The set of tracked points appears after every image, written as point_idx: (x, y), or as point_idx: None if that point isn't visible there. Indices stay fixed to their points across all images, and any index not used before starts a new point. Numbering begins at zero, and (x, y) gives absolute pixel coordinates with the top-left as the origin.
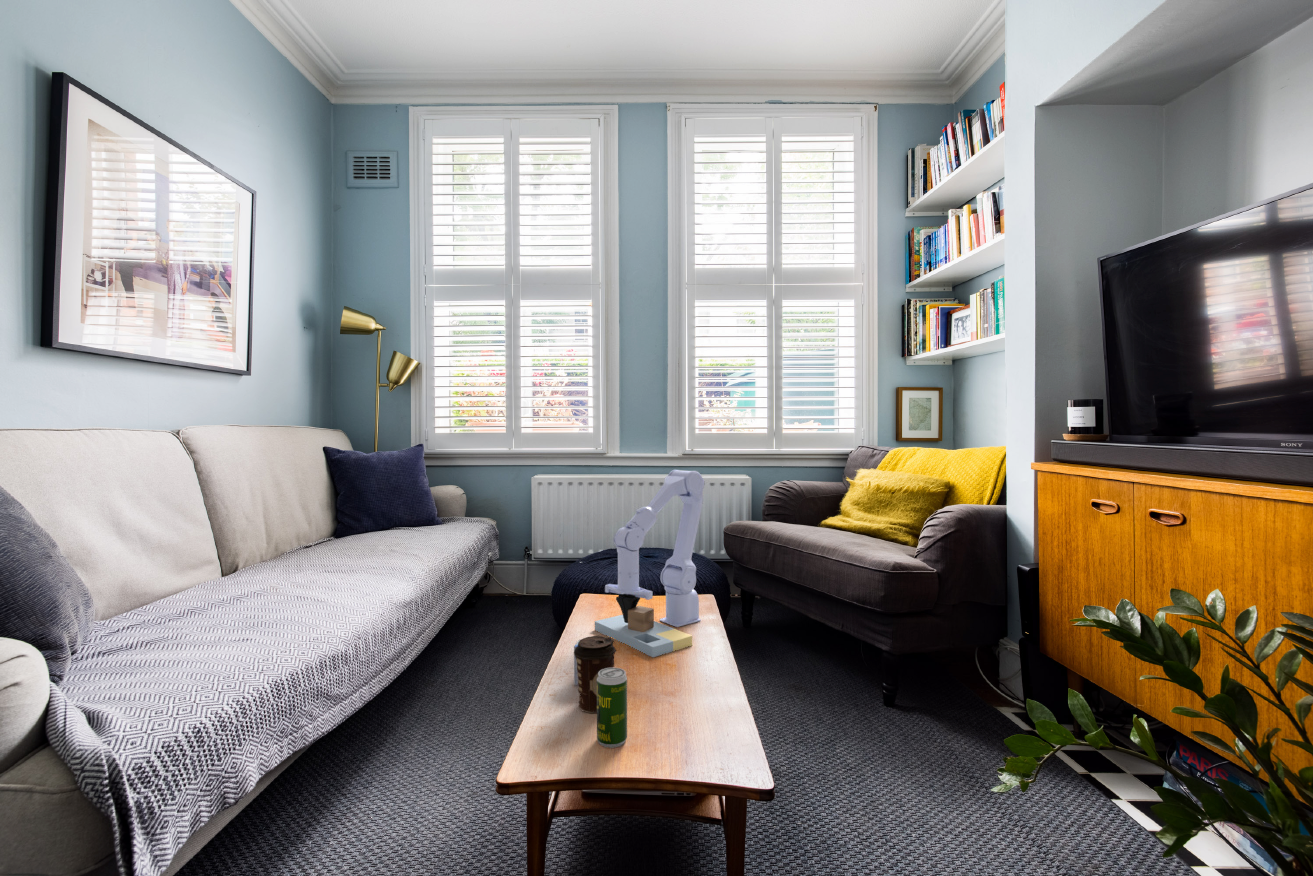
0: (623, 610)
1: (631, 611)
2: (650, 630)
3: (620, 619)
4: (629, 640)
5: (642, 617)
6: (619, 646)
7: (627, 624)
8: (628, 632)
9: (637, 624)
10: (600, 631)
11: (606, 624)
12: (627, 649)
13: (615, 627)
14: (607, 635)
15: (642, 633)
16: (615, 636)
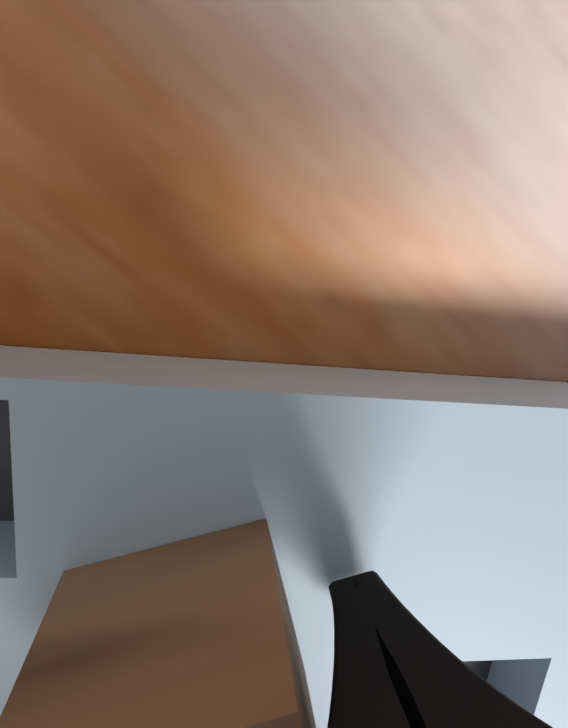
0: (424, 677)
1: (221, 722)
2: None
3: (524, 617)
4: (54, 367)
5: (13, 725)
6: (143, 282)
7: None
8: (172, 459)
9: (126, 603)
10: (544, 383)
11: (535, 442)
12: (17, 285)
13: (397, 453)
14: (434, 375)
15: (39, 546)
16: (313, 375)
